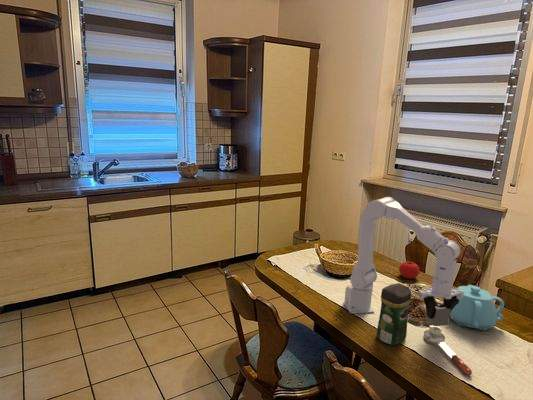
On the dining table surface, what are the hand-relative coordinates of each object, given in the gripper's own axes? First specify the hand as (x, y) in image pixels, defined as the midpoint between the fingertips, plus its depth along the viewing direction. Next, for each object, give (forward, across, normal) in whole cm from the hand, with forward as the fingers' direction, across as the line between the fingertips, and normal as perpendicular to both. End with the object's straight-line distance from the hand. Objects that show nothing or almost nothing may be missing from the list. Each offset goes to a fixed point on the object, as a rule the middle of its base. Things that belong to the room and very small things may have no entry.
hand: (437, 316), depth 120 cm
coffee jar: (+9, -14, +2) cm, 17 cm away
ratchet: (+8, 0, -7) cm, 11 cm away
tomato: (+9, +16, +46) cm, 50 cm away
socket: (+2, 0, 0) cm, 2 cm away
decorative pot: (+9, +20, +10) cm, 24 cm away
